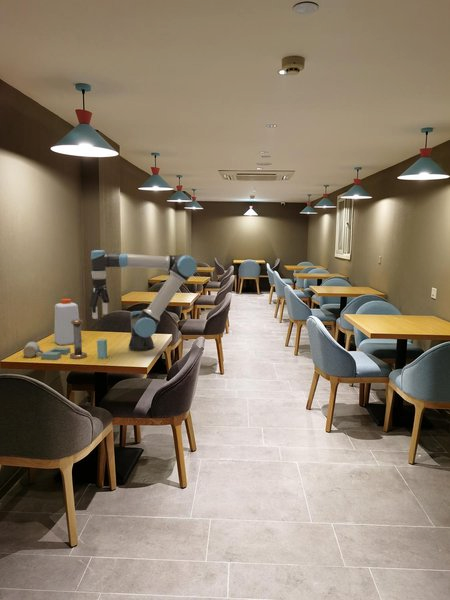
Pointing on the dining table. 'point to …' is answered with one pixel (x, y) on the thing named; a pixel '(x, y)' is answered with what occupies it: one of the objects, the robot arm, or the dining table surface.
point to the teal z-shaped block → (55, 353)
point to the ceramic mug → (32, 349)
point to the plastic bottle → (65, 322)
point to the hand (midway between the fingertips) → (100, 316)
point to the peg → (102, 348)
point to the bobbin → (77, 340)
